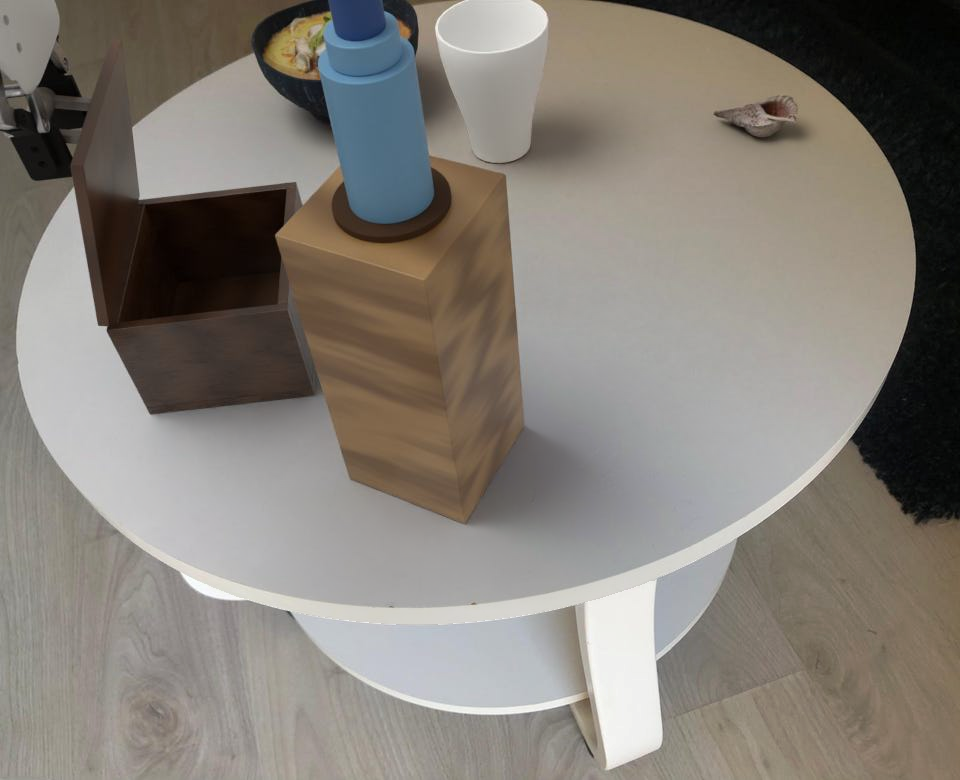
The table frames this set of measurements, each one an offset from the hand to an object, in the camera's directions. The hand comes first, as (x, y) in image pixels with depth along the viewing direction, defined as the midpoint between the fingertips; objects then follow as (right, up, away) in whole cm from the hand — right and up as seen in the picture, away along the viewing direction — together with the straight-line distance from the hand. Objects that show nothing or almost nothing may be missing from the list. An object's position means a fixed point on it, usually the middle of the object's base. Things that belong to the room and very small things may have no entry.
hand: (62, 149), depth 71 cm
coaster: (+25, -6, -13) cm, 28 cm away
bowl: (+16, +14, +38) cm, 43 cm away
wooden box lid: (+3, -2, +2) cm, 4 cm away
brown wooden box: (+9, -13, +15) cm, 22 cm away
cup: (+32, +8, +31) cm, 45 cm away
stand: (+27, -22, +5) cm, 35 cm away
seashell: (+58, +9, +29) cm, 65 cm away
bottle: (+25, -6, -13) cm, 29 cm away
